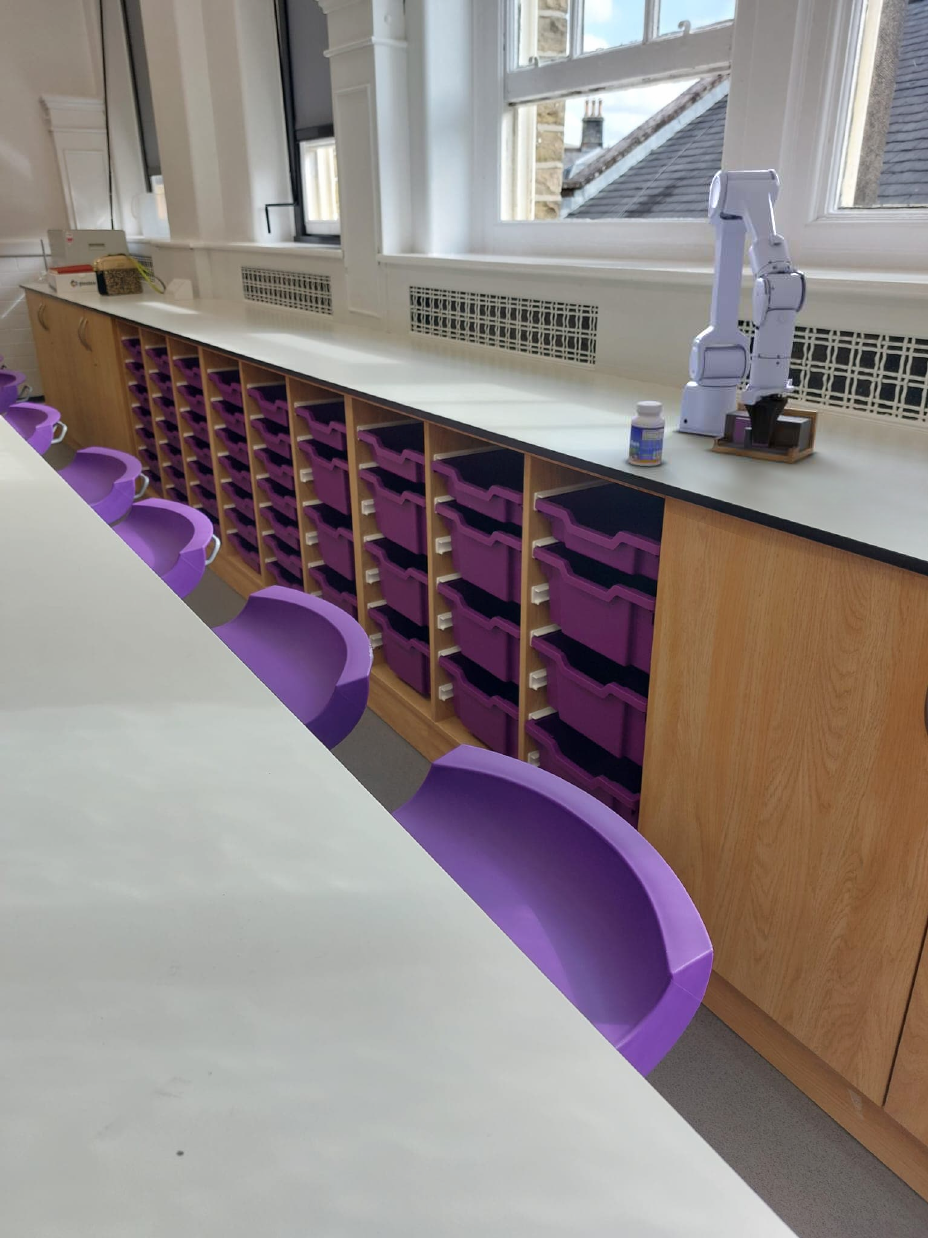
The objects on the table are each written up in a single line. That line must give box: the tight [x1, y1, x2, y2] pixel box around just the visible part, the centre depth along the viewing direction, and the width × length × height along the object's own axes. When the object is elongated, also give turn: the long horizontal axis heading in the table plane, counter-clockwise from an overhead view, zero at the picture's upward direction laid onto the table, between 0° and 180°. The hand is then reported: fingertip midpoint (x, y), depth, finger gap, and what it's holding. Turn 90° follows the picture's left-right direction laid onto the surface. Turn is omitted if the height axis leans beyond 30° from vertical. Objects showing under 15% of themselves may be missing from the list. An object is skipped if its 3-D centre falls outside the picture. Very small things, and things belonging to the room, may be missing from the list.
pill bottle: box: [628, 400, 666, 467], centre depth 143 cm, size 5×5×10 cm
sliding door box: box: [712, 401, 820, 464], centre depth 149 cm, size 14×9×7 cm, turn 49°
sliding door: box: [733, 417, 769, 449], centre depth 145 cm, size 6×6×5 cm
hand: (760, 442), depth 142 cm, fingers closed, pressing on sliding door
